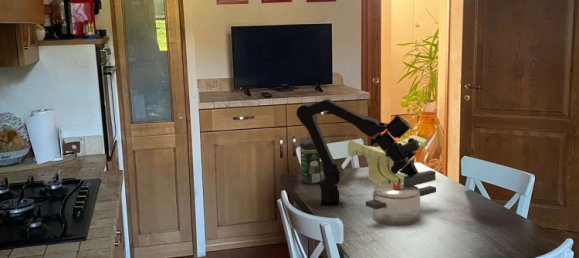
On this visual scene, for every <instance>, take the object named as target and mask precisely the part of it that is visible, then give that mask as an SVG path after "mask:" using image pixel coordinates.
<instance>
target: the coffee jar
mask: <svg viewBox="0 0 579 258" xmlns="http://www.w3.org/2000/svg"><path fill="white" fill-rule="evenodd" d="M299 149H300V151H299V152H300V180H301V181H302V182H303V183H304V184H307V185H308V184H310V185H315V184H318V183H321V182H322V174H321V159H320V157H319V154H318V152H317V150H316V148H315V145H314V143H313V141H312V139H311V138H303V139H302V140H301V141H300V144H299Z"/></svg>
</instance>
